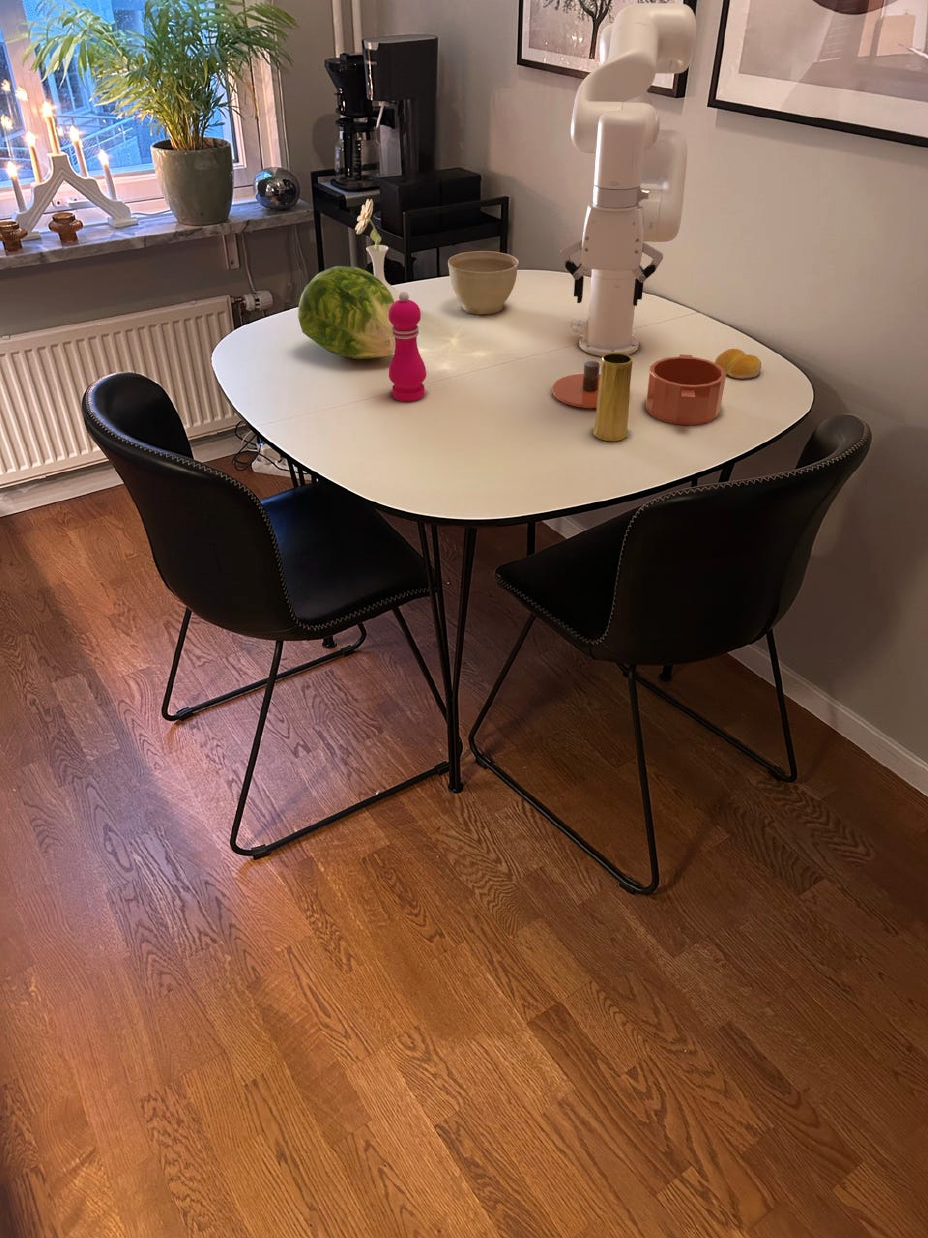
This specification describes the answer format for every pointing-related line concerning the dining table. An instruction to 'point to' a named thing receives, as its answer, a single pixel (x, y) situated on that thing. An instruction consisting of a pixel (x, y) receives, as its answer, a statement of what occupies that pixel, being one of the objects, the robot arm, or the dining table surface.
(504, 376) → the dining table surface
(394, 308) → the pepper mill
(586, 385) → the crock lid
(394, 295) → the flower in vase
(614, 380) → the vase
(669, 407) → the crock
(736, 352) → the bread roll
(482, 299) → the planter bowl
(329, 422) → the dining table surface
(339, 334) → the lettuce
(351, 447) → the dining table surface
